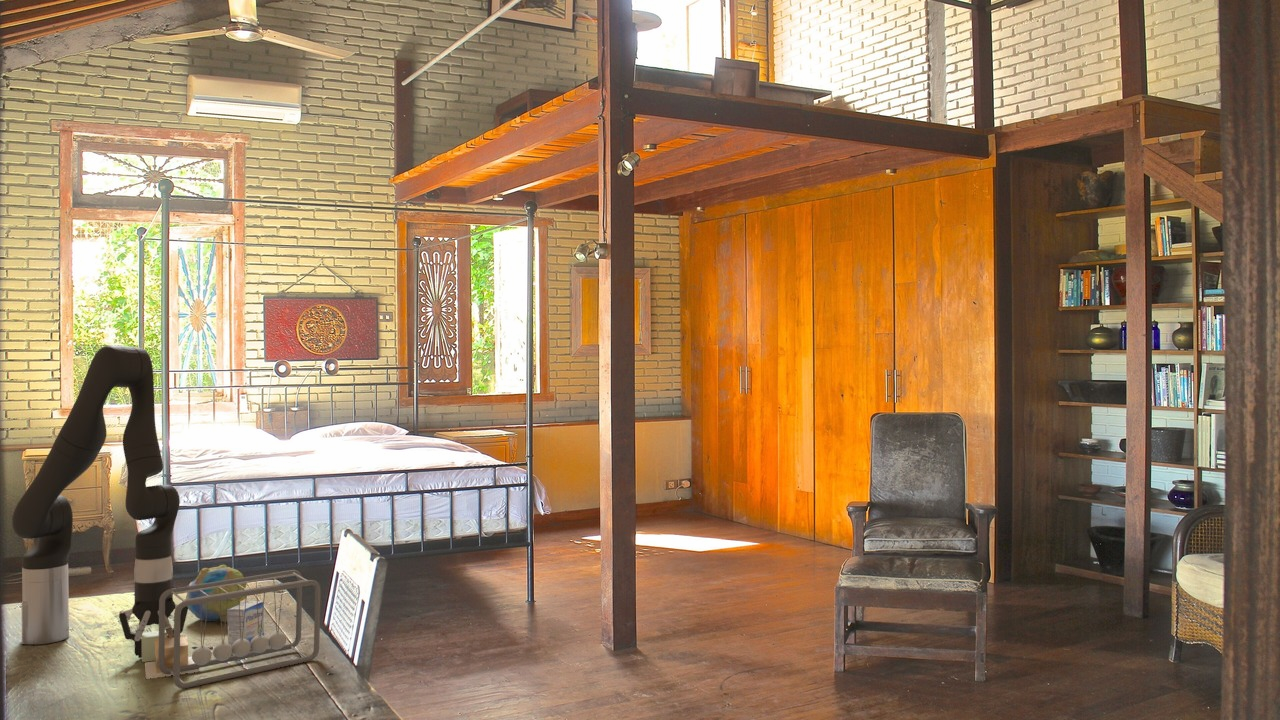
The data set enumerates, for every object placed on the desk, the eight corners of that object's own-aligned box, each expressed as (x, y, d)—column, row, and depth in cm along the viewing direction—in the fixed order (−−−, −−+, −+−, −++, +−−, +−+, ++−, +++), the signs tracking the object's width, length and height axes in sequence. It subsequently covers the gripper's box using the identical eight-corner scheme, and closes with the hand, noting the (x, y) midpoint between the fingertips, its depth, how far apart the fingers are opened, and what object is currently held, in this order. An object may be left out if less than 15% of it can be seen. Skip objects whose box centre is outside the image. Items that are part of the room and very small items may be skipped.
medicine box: (244, 648, 228) (244, 609, 228) (227, 647, 229) (226, 608, 229) (264, 638, 236) (264, 601, 236) (247, 637, 237) (247, 600, 237)
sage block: (141, 661, 218) (141, 638, 218) (141, 655, 222) (141, 632, 222) (167, 658, 220) (167, 635, 220) (166, 652, 225) (166, 629, 224)
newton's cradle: (174, 691, 199) (175, 603, 198) (157, 675, 207) (158, 589, 206) (319, 659, 219) (321, 579, 218) (299, 645, 227) (301, 567, 226)
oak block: (156, 673, 209) (156, 649, 209) (155, 662, 216) (155, 639, 216) (188, 669, 211) (188, 645, 211) (186, 658, 219) (185, 635, 218)
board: (145, 679, 207) (145, 676, 207) (144, 665, 216) (144, 662, 216) (199, 671, 211) (199, 669, 211) (196, 658, 220) (196, 656, 220)
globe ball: (185, 557, 251) (222, 566, 243) (238, 565, 264) (275, 574, 256) (168, 614, 248) (206, 625, 240) (223, 619, 261) (260, 630, 253)
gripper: (188, 570, 227) (189, 646, 228) (116, 577, 221) (117, 655, 221) (190, 577, 221) (191, 655, 221) (116, 584, 214) (117, 664, 215)
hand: (154, 654), depth 221 cm, fingers closed on sage block, 5 cm apart
